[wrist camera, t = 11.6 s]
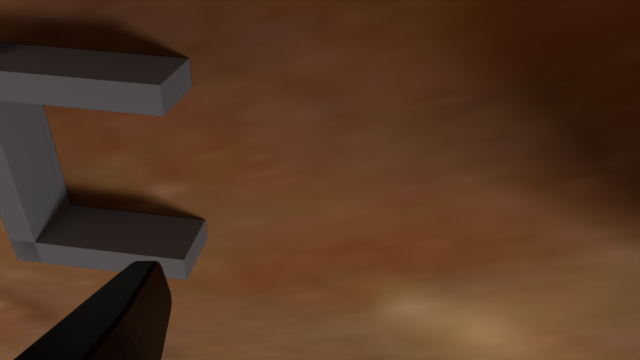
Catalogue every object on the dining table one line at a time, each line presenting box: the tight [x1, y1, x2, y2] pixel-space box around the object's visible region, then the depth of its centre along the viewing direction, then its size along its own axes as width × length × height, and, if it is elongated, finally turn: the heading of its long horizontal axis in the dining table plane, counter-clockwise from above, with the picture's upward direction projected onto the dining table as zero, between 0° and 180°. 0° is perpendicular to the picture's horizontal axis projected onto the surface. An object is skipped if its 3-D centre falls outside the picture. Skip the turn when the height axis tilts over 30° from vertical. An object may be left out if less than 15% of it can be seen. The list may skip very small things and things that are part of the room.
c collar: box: [0, 43, 207, 280], centre depth 21 cm, size 8×9×3 cm
